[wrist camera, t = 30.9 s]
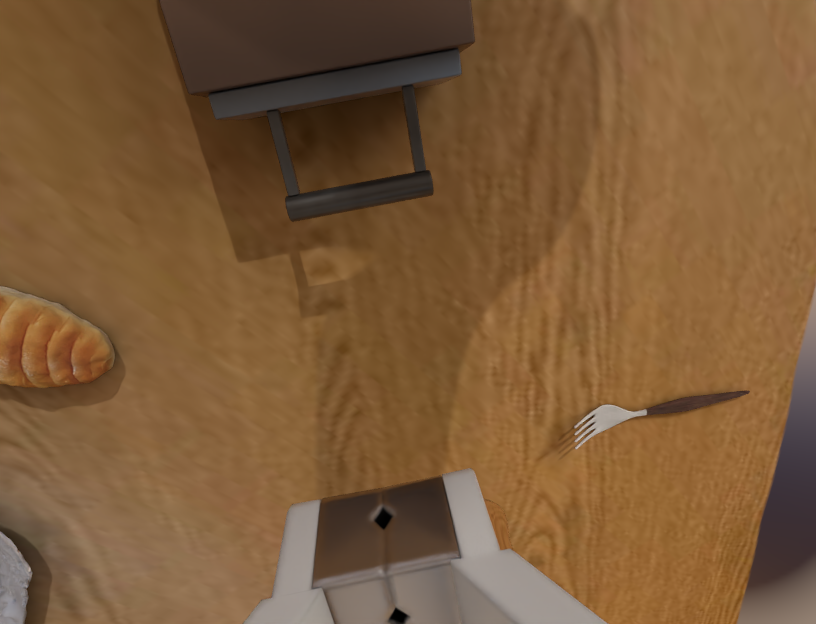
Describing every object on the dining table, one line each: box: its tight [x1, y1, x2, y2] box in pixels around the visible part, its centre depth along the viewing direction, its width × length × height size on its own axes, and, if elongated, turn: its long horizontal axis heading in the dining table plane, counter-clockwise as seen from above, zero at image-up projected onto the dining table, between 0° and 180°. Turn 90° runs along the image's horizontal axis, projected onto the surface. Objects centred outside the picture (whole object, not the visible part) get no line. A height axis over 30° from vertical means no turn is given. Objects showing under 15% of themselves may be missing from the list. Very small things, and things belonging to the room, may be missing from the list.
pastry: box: [0, 286, 115, 388], centre depth 32 cm, size 9×7×4 cm
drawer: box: [208, 48, 462, 222], centre depth 25 cm, size 20×12×6 cm, turn 10°
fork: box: [574, 391, 750, 449], centre depth 40 cm, size 3×16×2 cm, turn 99°
